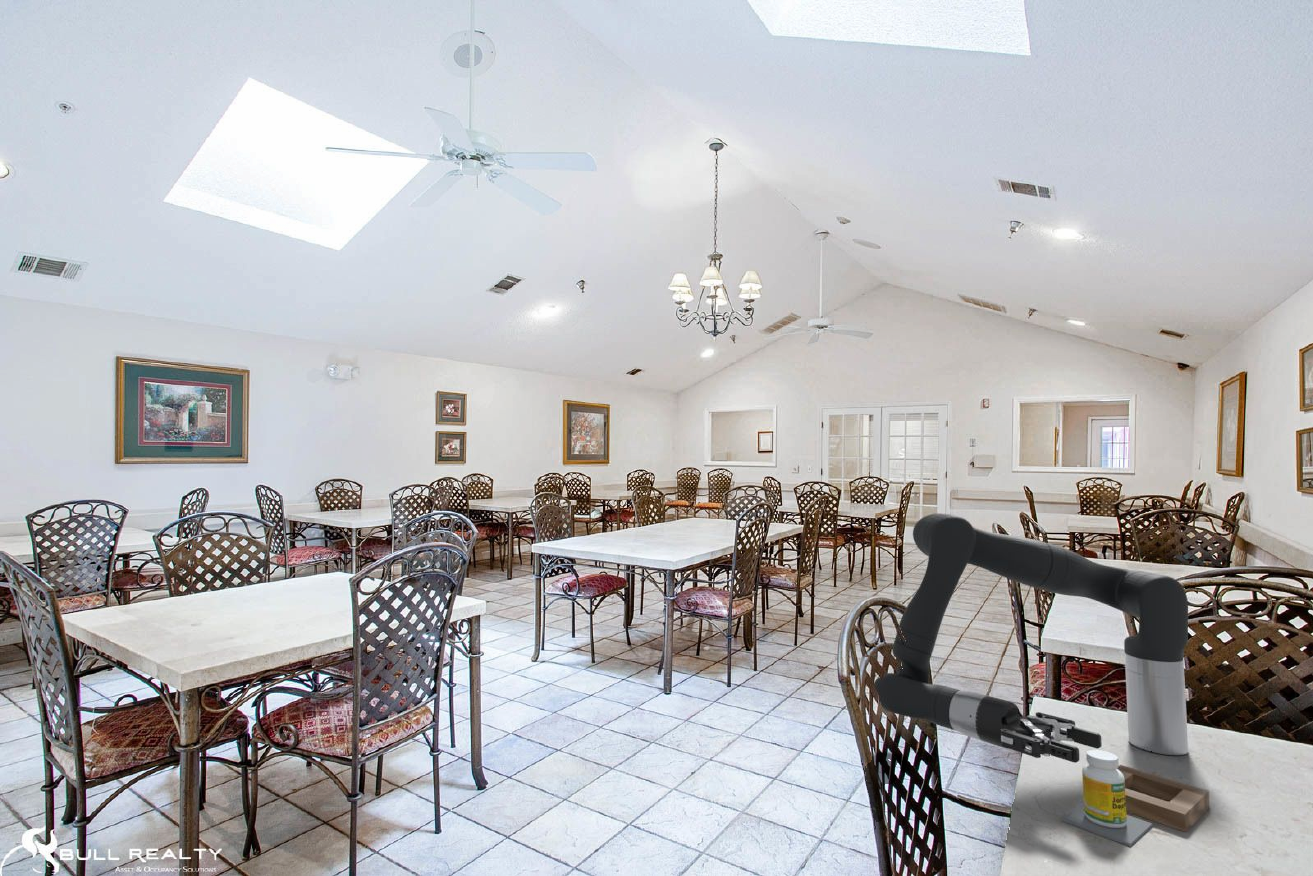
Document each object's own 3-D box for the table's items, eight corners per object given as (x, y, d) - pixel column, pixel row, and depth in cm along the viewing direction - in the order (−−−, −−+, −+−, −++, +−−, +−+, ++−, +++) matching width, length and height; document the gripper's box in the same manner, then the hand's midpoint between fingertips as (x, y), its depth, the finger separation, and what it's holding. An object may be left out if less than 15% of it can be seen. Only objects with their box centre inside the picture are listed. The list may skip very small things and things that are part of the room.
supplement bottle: (1093, 808, 103) (1090, 745, 103) (1133, 822, 98) (1130, 756, 99) (1077, 818, 100) (1074, 753, 100) (1118, 833, 95) (1114, 765, 96)
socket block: (1121, 779, 113) (1120, 764, 113) (1209, 807, 104) (1208, 791, 104) (1093, 800, 106) (1092, 784, 106) (1185, 832, 97) (1184, 814, 97)
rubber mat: (1085, 802, 105) (1084, 800, 105) (1152, 826, 98) (1152, 823, 98) (1060, 820, 100) (1060, 817, 100) (1130, 846, 93) (1130, 843, 93)
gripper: (962, 704, 110) (1069, 734, 97) (1003, 688, 118) (1106, 713, 106) (964, 750, 109) (1071, 786, 96) (1004, 730, 118) (1108, 761, 105)
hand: (1089, 748), depth 101 cm, fingers open, 8 cm apart
